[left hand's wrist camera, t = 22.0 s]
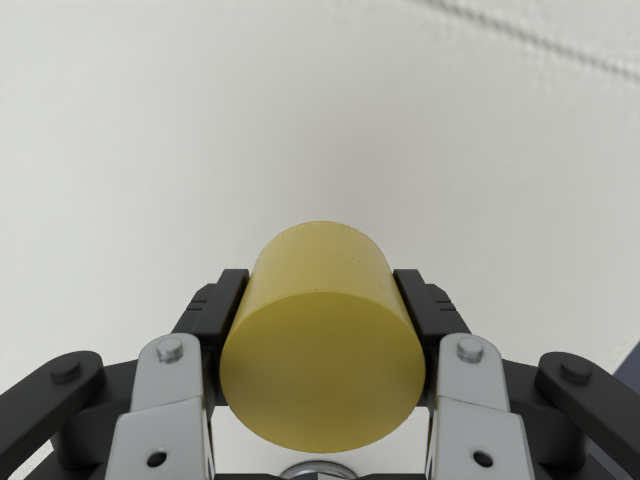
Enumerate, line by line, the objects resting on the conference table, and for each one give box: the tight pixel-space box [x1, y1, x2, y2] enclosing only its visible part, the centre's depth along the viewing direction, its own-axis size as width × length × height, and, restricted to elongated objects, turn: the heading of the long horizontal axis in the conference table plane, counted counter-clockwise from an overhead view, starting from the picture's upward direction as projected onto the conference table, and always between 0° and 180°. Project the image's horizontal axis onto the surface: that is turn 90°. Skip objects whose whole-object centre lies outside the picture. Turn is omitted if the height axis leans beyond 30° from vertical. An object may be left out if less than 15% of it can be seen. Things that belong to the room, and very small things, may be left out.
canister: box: [219, 221, 426, 453], centre depth 10 cm, size 5×5×4 cm
